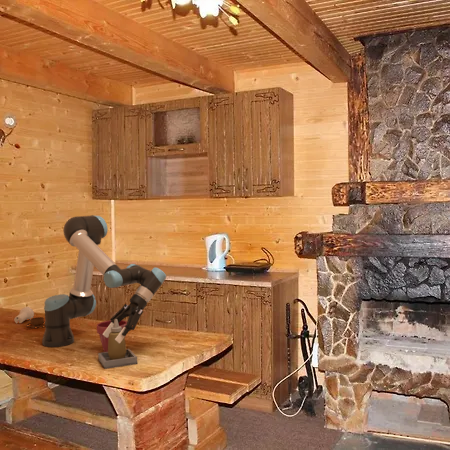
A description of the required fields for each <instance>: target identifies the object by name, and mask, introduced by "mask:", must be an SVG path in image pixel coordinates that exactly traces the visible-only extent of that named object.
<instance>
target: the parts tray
mask: <svg viewBox="0 0 450 450" xmlns="http://www.w3.org/2000/svg"><path fill="white" fill-rule="evenodd" d="M97 355H98V362H99V363H100V364H101V366H102V368H103V369H105V370H107V369H112V368H119V367H125V366H132V365H138V356H137V355H136V354H135V353H134V352H133V351H132V350H131V349H130V348H126V355H125V358H122V359H116V360H110V357H109V355H108V352H104V351H103V352H98V354H97Z"/></svg>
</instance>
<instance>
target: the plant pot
mask: <svg viewBox="0 0 450 450" xmlns="http://www.w3.org/2000/svg"><path fill="white" fill-rule="evenodd" d="M110 324H111V320H110V319H109V320H105V321H101V322H98V323H97V324H96V333H97V334H98V335H99V339H100V343H101V346H102V349H103V352H108V340H109V336H108V338H106V337H105V336H104V335H103V333H104V331H105V330H106V329H107V327H108V326H109V325H110ZM118 324H119V326H120V327H122V329H123V328H124V327H125V325H126V324H127V321H126V320H124V319H123V320H121V321H120V322H119V323H118ZM125 328H126V327H125Z"/></svg>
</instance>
